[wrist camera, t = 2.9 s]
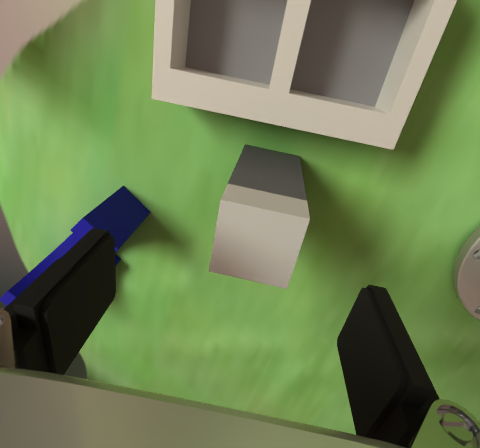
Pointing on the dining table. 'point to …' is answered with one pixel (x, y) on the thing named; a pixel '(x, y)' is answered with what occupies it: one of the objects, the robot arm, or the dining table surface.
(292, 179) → the plug
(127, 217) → the blue notched block
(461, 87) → the dining table surface
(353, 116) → the socket strip
